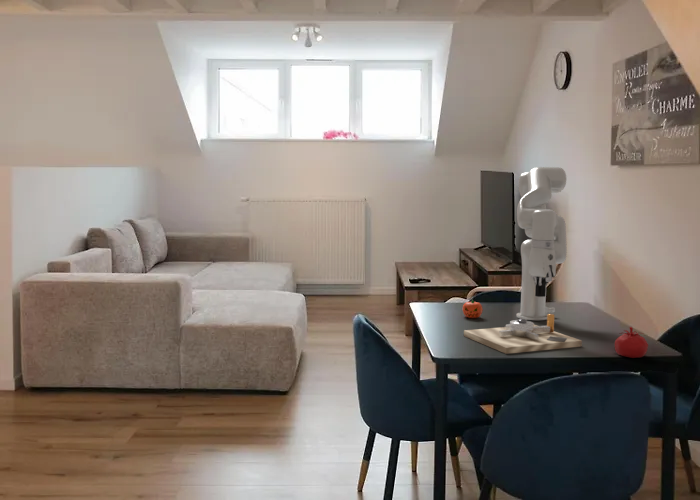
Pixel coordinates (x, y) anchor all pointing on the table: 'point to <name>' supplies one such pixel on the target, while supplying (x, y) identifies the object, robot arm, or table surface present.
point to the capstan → (527, 328)
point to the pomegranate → (631, 345)
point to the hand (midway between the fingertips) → (540, 296)
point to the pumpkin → (472, 309)
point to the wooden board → (521, 340)
